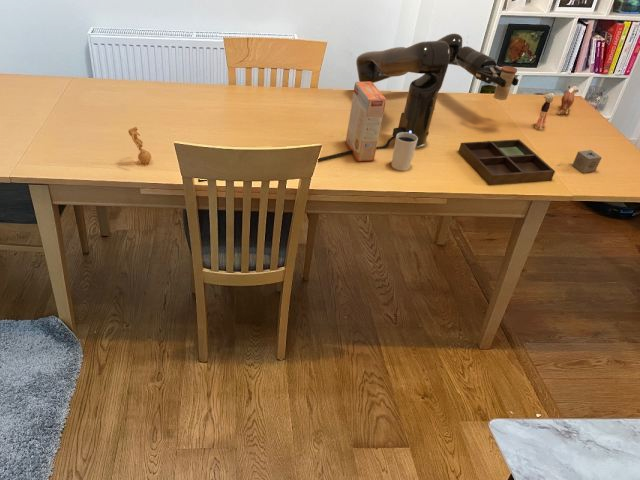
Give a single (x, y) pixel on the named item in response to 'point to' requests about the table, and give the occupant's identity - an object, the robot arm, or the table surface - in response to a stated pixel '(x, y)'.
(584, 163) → the gray cube
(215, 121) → the table surface
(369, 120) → the cracker box
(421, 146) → the robot arm
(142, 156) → the figurine
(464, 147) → the grid
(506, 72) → the lidded canister
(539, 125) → the grandmother figurine
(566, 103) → the bull figurine
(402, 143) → the white cup
